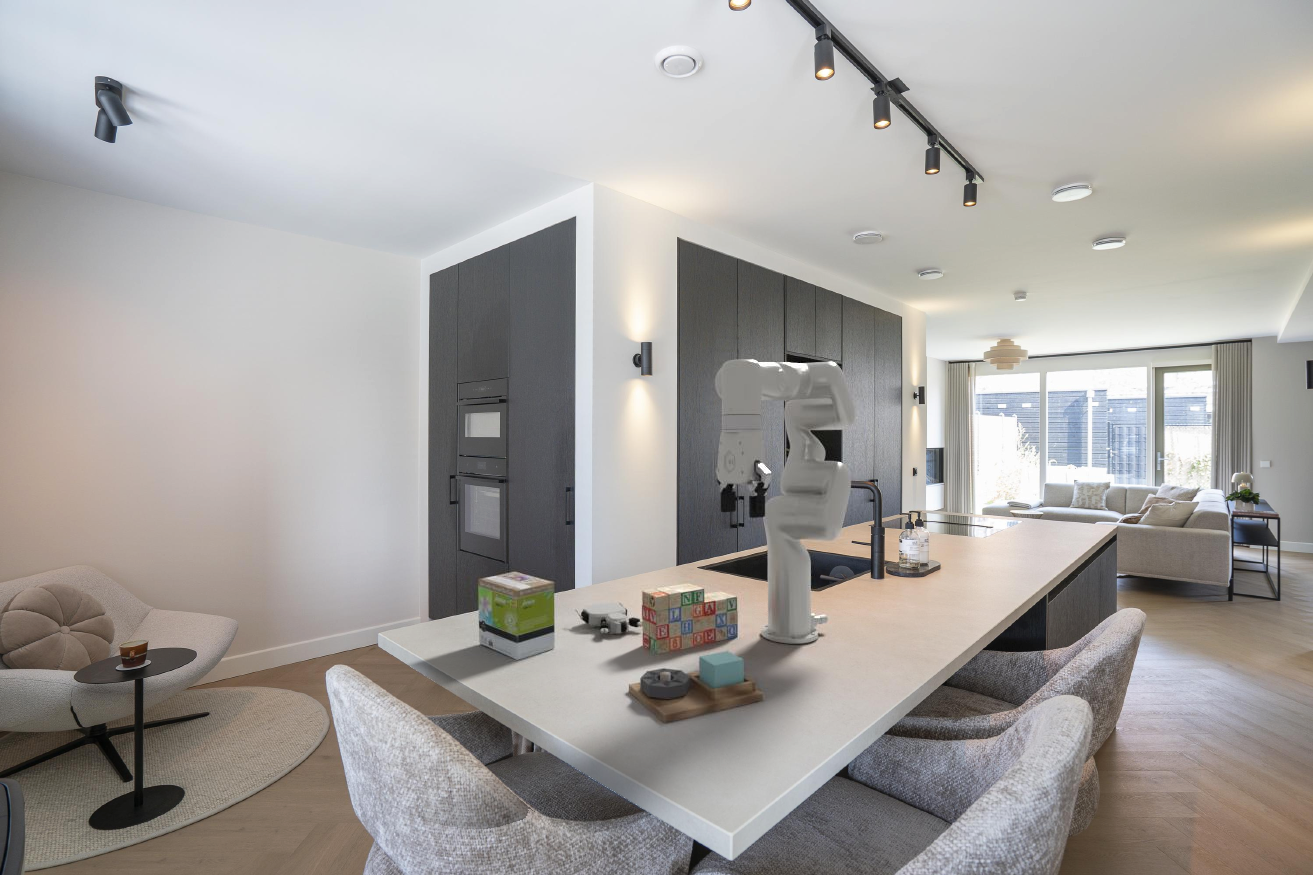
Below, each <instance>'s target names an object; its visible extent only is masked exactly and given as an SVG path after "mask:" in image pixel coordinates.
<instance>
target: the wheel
mask: <svg viewBox="0 0 1313 875" xmlns="http://www.w3.org/2000/svg"><path fill="white" fill-rule="evenodd" d="M661 672H670V674H671V680H668V681H662V680H660V673H661ZM686 673H687V672H684V671H683V670H682V669H681V670H680V669H673V668H665V667H664V668H658V669H653V670H647V671H646V672H645V673H644V674H643V675H641V677H640V680H639V681H640V690H641V691H643V692H644V693H645V694H646V695H647V696H648V697H655V698H662V699H671V698H676V697H680V696H685V695H686V693H687V692H688V691H689V689H690V676H689V675H687V674H686Z"/></svg>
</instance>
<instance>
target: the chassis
mask: <svg viewBox="0 0 1313 875" xmlns="http://www.w3.org/2000/svg"><path fill="white" fill-rule="evenodd" d="M685 673H686V674H687V675H689V676H690V689H689V691H688V692H687V693H686V695H685V696H680V697H676V698H671V699H662V698H655V697H648V696H647V695H646V694H645V693H644V692H643V691H641V690H640V682H636V683H631V684H628V692H629V693H630V694H631V695H633V696H634V698H636V699H637V700H638V701H639V702H640V703H641V704H643V705H644V706H645V707H646V708H647V709H649V711H650V712H652V713H653V714H654V715H655V716H656V717H657V718H658V719H659V720H661V721H662V722H663V723H664V724H665V723H670V722H675V721H679V720H683V719H687V718H692V717H696V716H701V715H704V714H709V713H714V712H717V711H721V710H722V711H723V710H725V709H726V710H727V709H730V708H734V707H739V706H743V705H747V704H752V703H757V702H761V701H764V692H763V691H761V690H759V689H757V681H755V680H753V679H752V678H750V677H749V676H746V674H744V682H743V683H738V684H734V685H729V686H724V687H720V688H715V689H712V688H710V687H709V686H707V685H706V684H705V683H703V682H702V681H700V680H699V670H696V671H691V672H685ZM660 680H662V681H668V680H671V674H670V672H661V673H660Z"/></svg>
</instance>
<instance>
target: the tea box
mask: <svg viewBox="0 0 1313 875" xmlns="http://www.w3.org/2000/svg"><path fill="white" fill-rule="evenodd" d="M477 581H478V582H477V584H478V585H477V590H478V591H477V592H478V602H477V604H478V643H479V645H483V646H485V647H488V648H490V649H492V650H493V651H497V652H499V653H501V654H504V655H505V656H508V657H510V658H511V659H514V660H516V661H520V660H524V659H526V657H527V658H530V657H533V656H536V655H539V654H542V653H545V652H547V651H551V650H553V649H555V646H556V645H555V641H556V640H555V639H556V638H555V637H556V636H555V635H556V634H555V582H554V581H552V580H547V579H543V578H540V577H536V576H532V575H529V574H526V573H525V574H524V573H521V572H518V571H511V572H505V573H502V574H498V575H494V576H493V575H492V576H489V577H488V576H487V577H483V578H478V580H477ZM519 659H520V660H519Z"/></svg>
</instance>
